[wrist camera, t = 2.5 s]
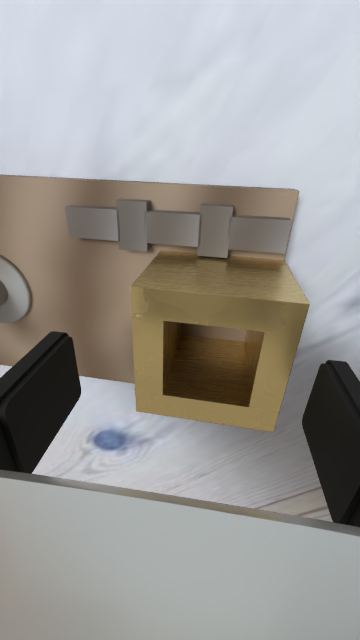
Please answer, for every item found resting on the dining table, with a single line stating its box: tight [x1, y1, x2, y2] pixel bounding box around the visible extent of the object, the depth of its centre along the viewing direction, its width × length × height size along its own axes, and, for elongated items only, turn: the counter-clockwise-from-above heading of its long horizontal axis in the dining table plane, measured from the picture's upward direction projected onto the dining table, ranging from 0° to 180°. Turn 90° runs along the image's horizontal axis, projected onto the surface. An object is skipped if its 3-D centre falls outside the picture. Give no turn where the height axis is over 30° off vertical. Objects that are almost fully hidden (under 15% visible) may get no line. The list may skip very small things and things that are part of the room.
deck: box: [0, 175, 299, 383], centre depth 14 cm, size 20×12×8 cm, turn 88°
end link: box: [130, 250, 310, 432], centre depth 13 cm, size 6×6×5 cm
